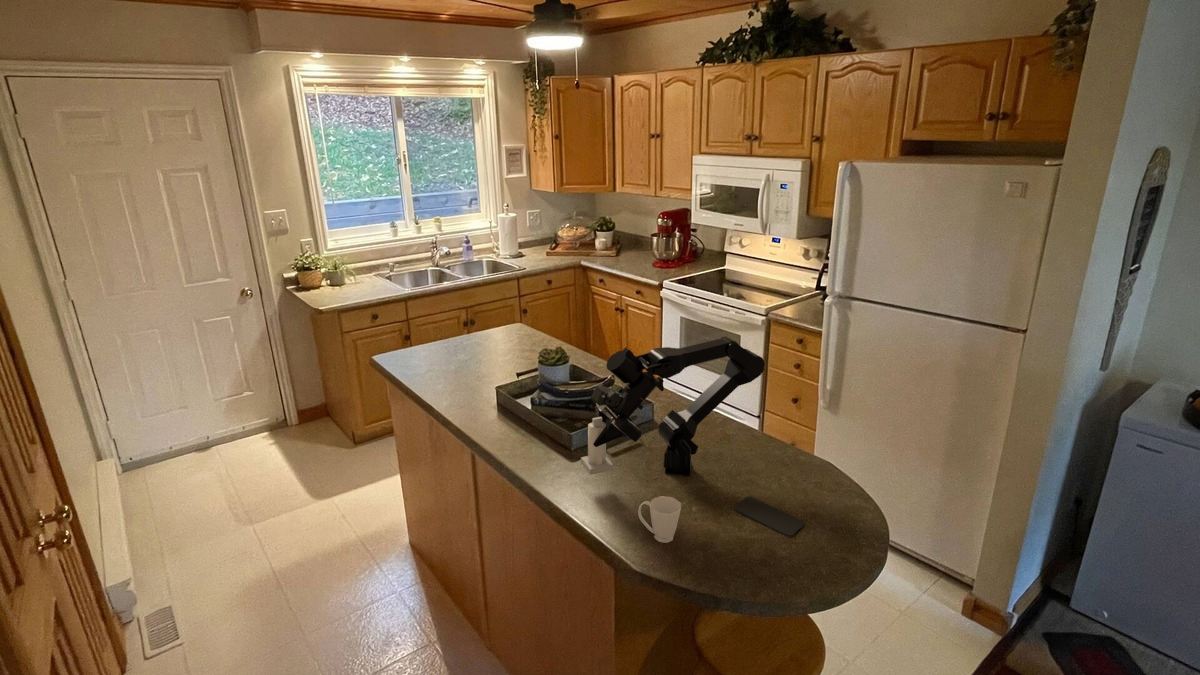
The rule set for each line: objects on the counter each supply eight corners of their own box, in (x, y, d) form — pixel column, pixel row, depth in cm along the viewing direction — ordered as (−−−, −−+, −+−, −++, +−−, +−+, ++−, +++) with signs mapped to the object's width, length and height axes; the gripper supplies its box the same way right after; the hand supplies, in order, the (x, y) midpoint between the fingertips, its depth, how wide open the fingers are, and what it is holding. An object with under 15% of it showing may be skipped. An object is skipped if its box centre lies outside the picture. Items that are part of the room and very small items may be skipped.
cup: (670, 551, 133) (672, 518, 130) (630, 534, 138) (631, 502, 135) (685, 534, 138) (687, 502, 135) (646, 518, 143) (647, 487, 141)
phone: (790, 537, 137) (731, 507, 147) (790, 540, 137) (731, 510, 147) (806, 522, 142) (748, 494, 152) (806, 525, 142) (748, 497, 152)
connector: (603, 458, 157) (604, 410, 153) (613, 470, 152) (614, 421, 147) (580, 462, 155) (580, 414, 151) (589, 474, 150) (590, 425, 145)
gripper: (598, 360, 155) (556, 408, 155) (630, 390, 139) (583, 443, 138) (626, 385, 161) (586, 431, 160) (660, 416, 144) (615, 467, 144)
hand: (591, 442), depth 151 cm, fingers closed on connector, 3 cm apart
